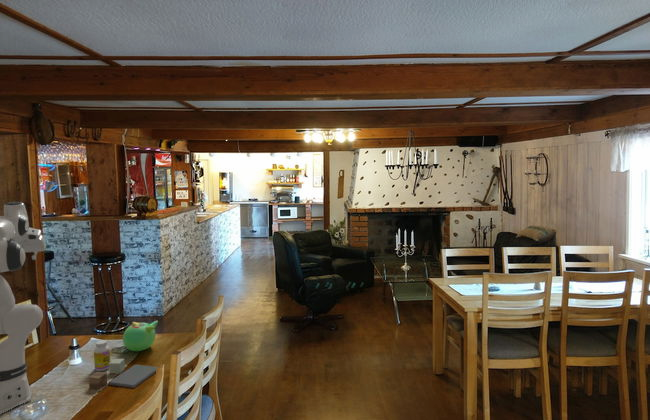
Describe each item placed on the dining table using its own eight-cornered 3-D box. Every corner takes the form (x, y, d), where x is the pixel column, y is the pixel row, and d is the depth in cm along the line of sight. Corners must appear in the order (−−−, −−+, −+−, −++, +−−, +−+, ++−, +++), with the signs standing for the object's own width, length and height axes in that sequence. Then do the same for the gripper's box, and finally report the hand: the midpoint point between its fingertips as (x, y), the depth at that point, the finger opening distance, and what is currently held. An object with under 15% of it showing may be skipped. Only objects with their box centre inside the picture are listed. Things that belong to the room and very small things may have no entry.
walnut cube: (99, 389, 191) (98, 378, 190) (89, 388, 192) (88, 376, 192) (107, 383, 196) (106, 373, 195) (98, 382, 197) (97, 371, 197)
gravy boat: (125, 344, 240) (124, 318, 238) (159, 340, 245) (157, 315, 243) (121, 358, 222) (119, 329, 221) (157, 353, 228) (155, 325, 226)
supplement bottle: (104, 371, 207) (102, 345, 206) (91, 370, 209) (90, 344, 207) (113, 365, 214) (112, 339, 213) (101, 364, 215) (100, 339, 214)
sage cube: (120, 373, 205) (119, 363, 205) (109, 373, 205) (108, 363, 205) (124, 369, 210) (124, 358, 210) (114, 369, 210) (113, 358, 210)
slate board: (133, 387, 192) (133, 385, 192) (108, 384, 195) (108, 381, 195) (159, 369, 209) (159, 367, 209) (135, 366, 212) (135, 364, 212)
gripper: (-11, 238, 201) (-6, 264, 206) (42, 235, 209) (46, 261, 214) (-7, 232, 206) (-2, 258, 212) (44, 229, 215) (47, 255, 220)
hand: (22, 259), depth 213 cm, fingers open, 8 cm apart
